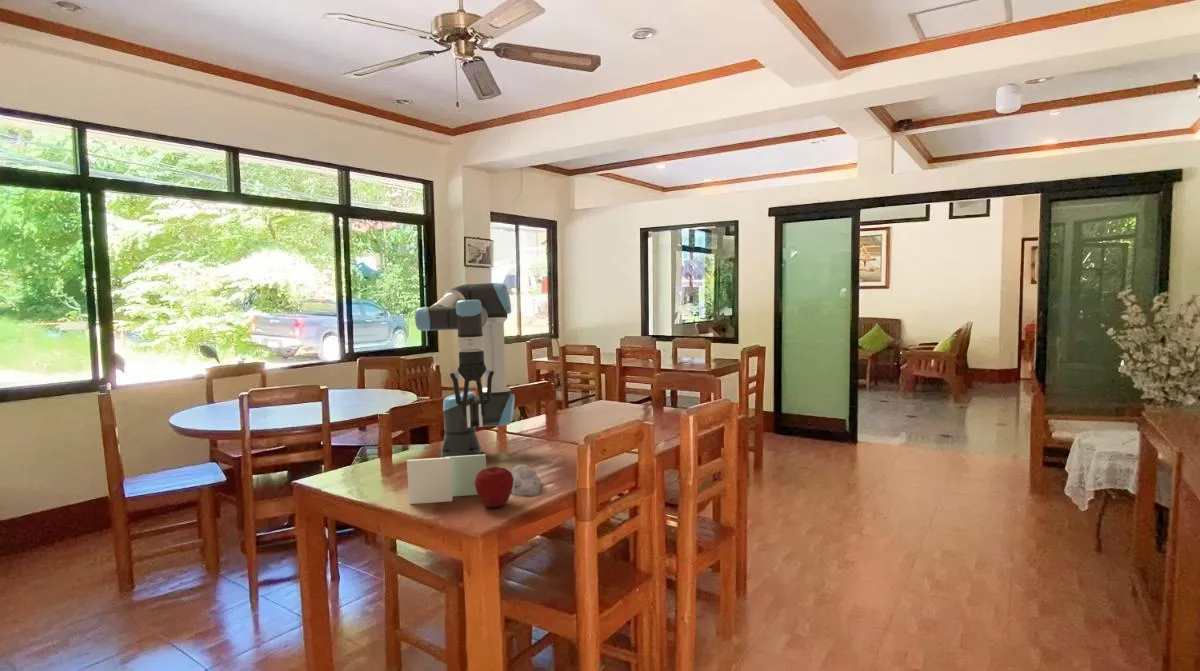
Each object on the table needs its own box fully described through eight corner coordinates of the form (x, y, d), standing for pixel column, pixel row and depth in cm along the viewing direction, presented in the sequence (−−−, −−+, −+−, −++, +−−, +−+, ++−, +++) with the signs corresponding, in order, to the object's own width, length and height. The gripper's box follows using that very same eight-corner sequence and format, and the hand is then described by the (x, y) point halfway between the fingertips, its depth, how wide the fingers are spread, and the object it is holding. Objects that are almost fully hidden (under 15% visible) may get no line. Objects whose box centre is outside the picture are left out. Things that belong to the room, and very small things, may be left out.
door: (449, 491, 196) (447, 453, 195) (488, 488, 198) (486, 450, 197) (447, 496, 191) (444, 457, 190) (487, 493, 192) (485, 455, 191)
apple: (472, 513, 177) (470, 472, 176) (479, 500, 188) (477, 461, 187) (512, 511, 177) (510, 470, 176) (516, 499, 188) (515, 460, 187)
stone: (530, 515, 190) (552, 489, 192) (505, 495, 188) (528, 469, 189) (520, 497, 206) (540, 473, 208) (497, 479, 204) (518, 455, 205)
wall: (410, 502, 188) (407, 459, 187) (452, 499, 189) (450, 457, 188) (409, 504, 186) (406, 460, 185) (452, 501, 188) (450, 458, 187)
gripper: (442, 352, 188) (446, 430, 190) (497, 350, 190) (500, 427, 192) (445, 350, 196) (450, 425, 197) (498, 348, 197) (501, 422, 199)
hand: (475, 426), depth 195 cm, fingers open, 3 cm apart
